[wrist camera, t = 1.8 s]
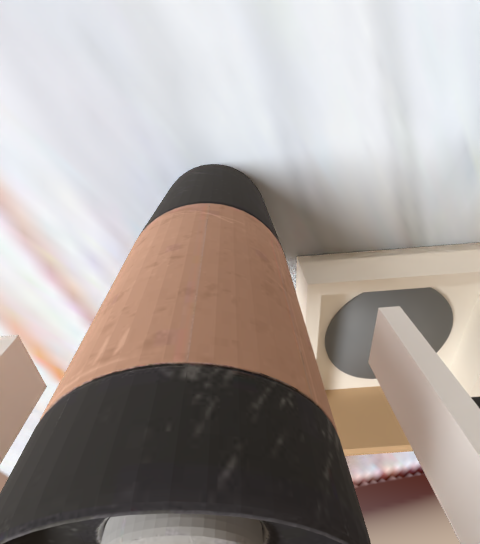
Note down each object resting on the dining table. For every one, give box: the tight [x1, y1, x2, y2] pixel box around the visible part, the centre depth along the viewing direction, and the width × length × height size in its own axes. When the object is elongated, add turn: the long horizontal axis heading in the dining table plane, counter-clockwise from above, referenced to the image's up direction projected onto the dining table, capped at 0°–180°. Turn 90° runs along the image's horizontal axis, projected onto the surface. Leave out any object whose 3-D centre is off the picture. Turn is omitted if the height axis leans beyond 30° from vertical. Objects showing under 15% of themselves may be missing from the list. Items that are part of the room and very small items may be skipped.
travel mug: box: [0, 164, 371, 544], centre depth 15 cm, size 8×8×20 cm
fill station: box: [296, 243, 480, 456], centre depth 26 cm, size 16×16×7 cm
